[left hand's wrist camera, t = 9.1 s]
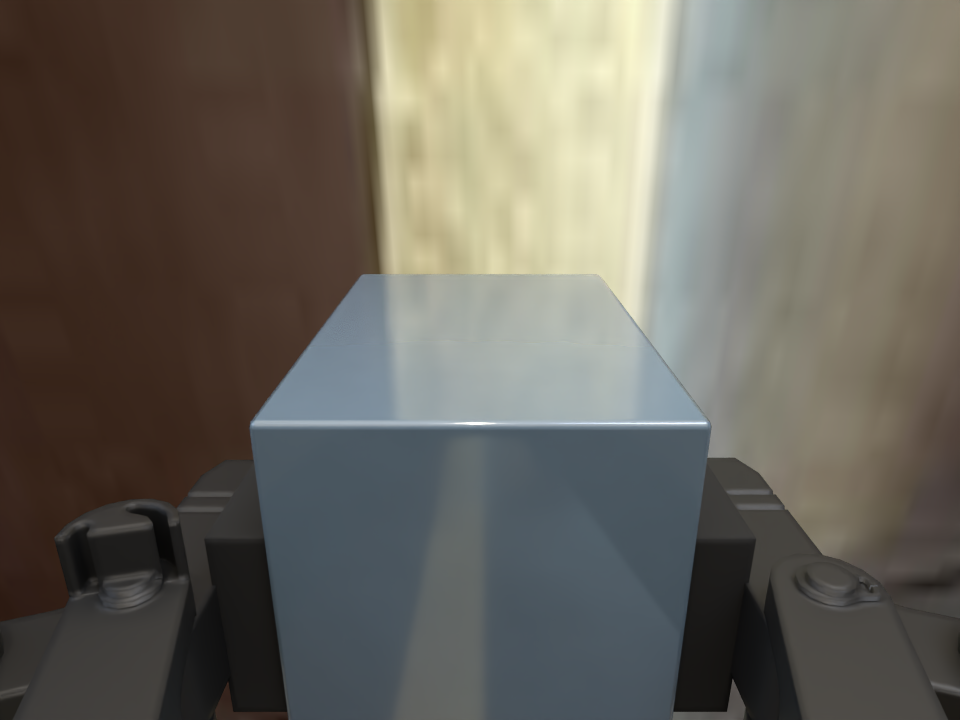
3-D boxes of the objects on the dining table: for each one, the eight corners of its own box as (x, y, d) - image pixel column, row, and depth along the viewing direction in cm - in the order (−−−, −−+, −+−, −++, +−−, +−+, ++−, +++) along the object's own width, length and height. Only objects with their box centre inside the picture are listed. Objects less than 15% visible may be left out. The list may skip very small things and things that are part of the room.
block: (374, 513, 16) (297, 806, 9) (359, 273, 14) (244, 423, 7) (585, 513, 16) (663, 806, 9) (601, 273, 14) (714, 423, 7)
